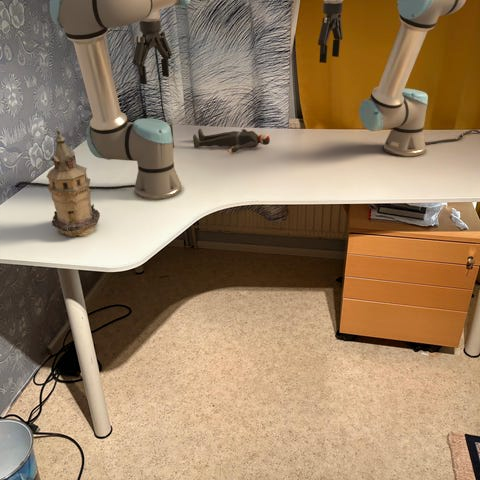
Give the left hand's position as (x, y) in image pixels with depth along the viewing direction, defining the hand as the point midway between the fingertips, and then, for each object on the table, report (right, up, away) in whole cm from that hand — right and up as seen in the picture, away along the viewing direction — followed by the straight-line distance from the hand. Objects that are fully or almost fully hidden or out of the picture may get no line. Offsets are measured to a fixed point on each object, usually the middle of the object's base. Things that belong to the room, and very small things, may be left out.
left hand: (155, 80), depth 202 cm
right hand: (+68, +13, +14) cm, 71 cm away
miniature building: (-15, -57, -46) cm, 75 cm away
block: (0, -23, +13) cm, 27 cm away
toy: (+29, -23, +13) cm, 39 cm away
